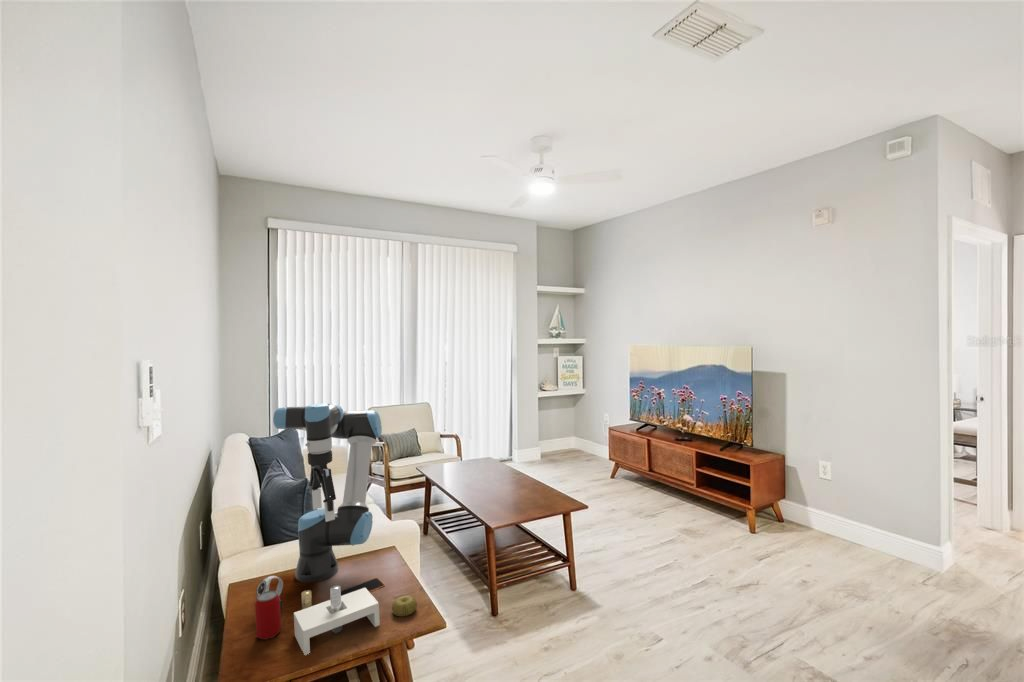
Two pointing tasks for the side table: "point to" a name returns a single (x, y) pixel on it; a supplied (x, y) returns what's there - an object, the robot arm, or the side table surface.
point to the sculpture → (404, 605)
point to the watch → (265, 585)
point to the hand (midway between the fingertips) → (323, 514)
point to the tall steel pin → (336, 603)
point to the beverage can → (268, 615)
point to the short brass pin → (306, 599)
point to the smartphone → (364, 586)
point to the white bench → (334, 616)
